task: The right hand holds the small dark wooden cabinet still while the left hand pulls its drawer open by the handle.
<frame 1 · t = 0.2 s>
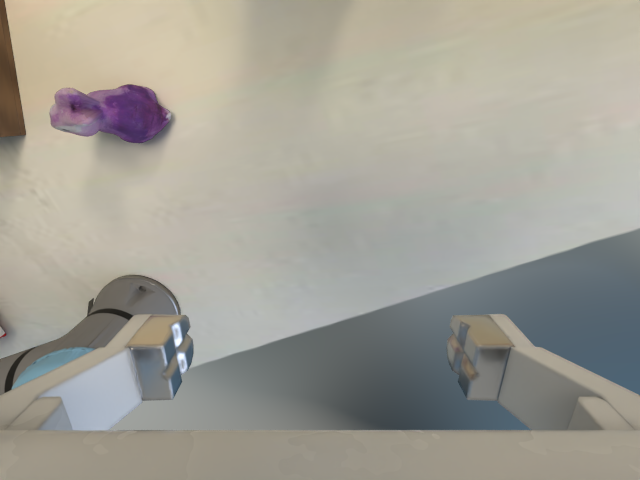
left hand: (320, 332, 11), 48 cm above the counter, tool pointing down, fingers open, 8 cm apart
figurine: (135, 115, 53), on the counter
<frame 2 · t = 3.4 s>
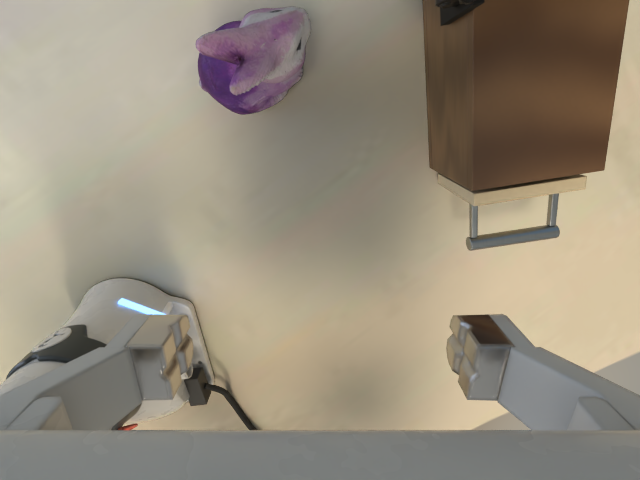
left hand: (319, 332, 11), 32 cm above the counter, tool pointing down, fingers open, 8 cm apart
drawer: (503, 124, 33), point 6 cm above the counter, slide at 0.6 cm
cabinet: (477, 71, 37), on the counter, touching right hand
figurine: (260, 66, 36), on the counter
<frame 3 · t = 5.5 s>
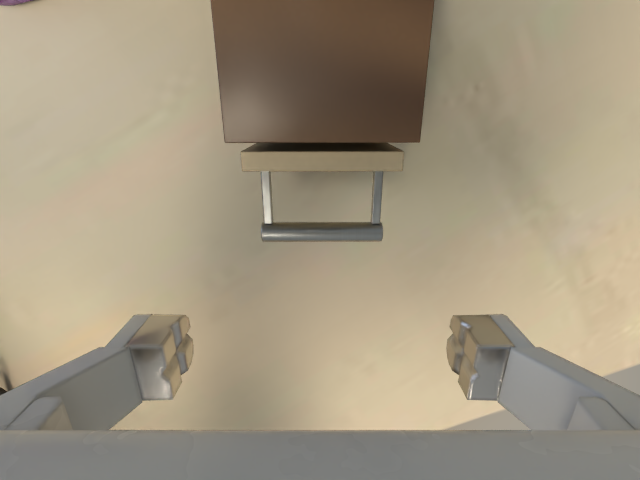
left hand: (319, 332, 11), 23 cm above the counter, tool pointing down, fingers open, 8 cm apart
drawer: (321, 69, 23), point 6 cm above the counter, slide at 0.6 cm
cabinet: (321, 3, 27), on the counter, touching right hand
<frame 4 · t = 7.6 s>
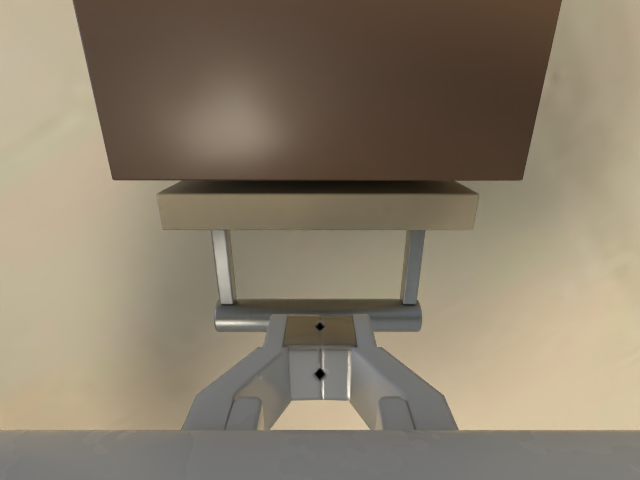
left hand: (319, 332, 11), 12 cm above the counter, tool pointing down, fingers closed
drawer: (318, 39, 13), point 6 cm above the counter, slide at 0.6 cm
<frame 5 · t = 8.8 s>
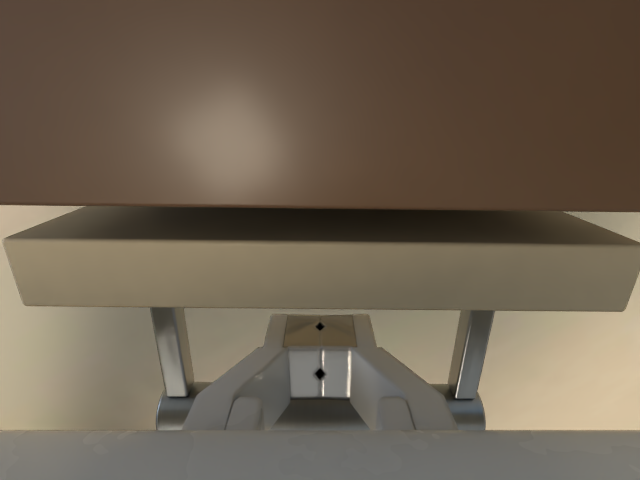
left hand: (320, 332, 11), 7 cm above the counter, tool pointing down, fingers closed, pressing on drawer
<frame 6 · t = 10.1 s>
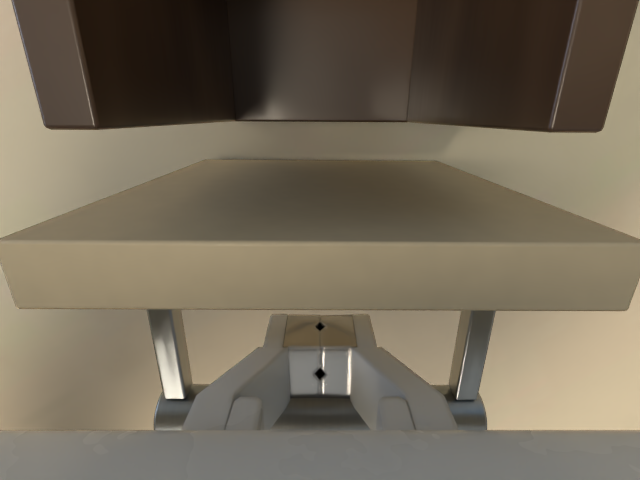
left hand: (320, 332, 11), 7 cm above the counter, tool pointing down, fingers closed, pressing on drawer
when the right hand's fingers open (7 cm above the counter, at t = 11.9 s): cabinet stays where it is, on the counter.
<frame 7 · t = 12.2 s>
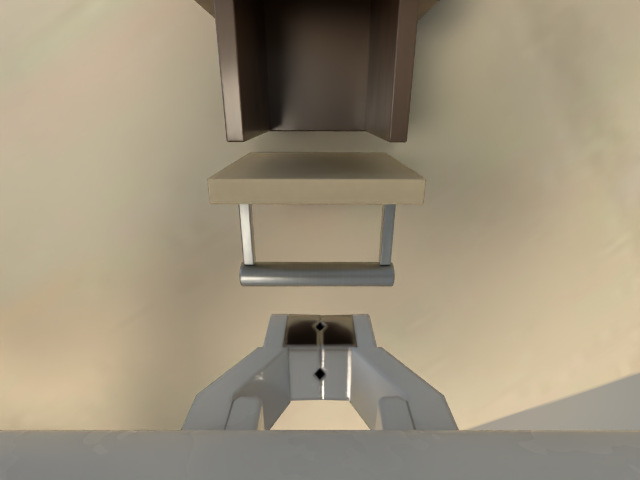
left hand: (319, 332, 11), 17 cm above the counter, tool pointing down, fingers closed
drawer: (317, 69, 18), point 6 cm above the counter, slide at 7.5 cm
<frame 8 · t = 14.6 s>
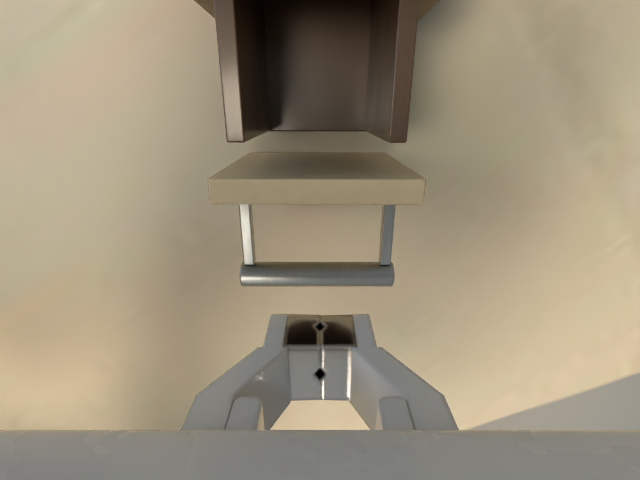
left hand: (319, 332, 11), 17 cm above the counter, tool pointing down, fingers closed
drawer: (317, 69, 18), point 6 cm above the counter, slide at 7.5 cm
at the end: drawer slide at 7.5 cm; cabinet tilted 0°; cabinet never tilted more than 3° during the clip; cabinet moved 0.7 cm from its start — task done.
